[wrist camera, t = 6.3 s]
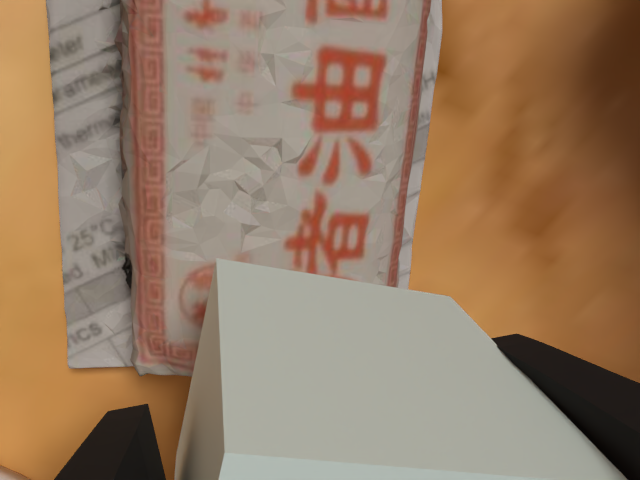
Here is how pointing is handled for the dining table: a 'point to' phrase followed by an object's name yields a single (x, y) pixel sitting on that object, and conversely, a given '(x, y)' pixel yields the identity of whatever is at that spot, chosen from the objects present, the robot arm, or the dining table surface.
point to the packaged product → (230, 155)
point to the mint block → (362, 389)
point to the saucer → (10, 475)
